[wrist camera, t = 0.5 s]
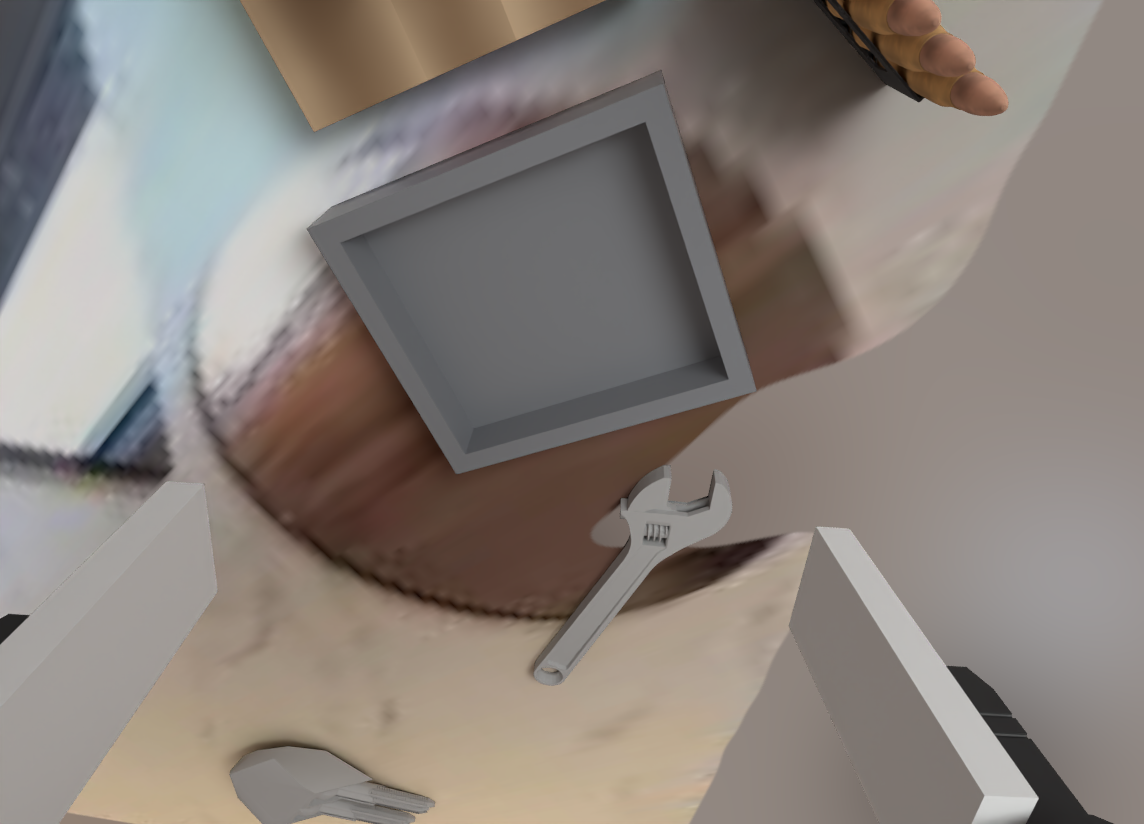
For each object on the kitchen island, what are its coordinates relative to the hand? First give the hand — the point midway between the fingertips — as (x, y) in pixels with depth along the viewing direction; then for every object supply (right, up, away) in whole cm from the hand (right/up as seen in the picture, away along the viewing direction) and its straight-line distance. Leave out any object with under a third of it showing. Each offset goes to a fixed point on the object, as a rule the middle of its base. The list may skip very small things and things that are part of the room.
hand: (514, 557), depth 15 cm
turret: (-22, -33, +56) cm, 69 cm away
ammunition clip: (+12, +22, +15) cm, 30 cm away
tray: (0, +10, +24) cm, 26 cm away
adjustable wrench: (+4, -9, +37) cm, 39 cm away
